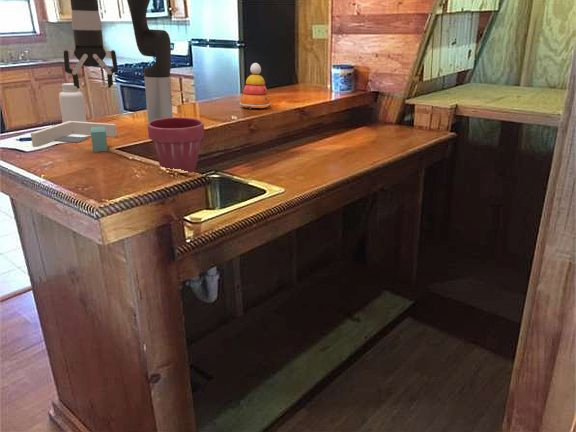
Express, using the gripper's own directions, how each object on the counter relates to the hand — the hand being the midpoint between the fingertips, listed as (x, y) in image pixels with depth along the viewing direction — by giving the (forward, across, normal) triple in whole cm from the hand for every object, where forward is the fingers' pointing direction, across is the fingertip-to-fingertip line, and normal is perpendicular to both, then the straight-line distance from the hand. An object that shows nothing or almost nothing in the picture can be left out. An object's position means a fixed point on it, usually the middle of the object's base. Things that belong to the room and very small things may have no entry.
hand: (93, 87), depth 146 cm
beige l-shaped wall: (+18, +7, -12) cm, 23 cm away
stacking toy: (+18, -66, -62) cm, 93 cm away
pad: (+18, +9, -14) cm, 25 cm away
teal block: (+18, 0, 0) cm, 18 cm away
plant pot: (+18, -20, +28) cm, 39 cm away
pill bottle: (+18, +9, -35) cm, 41 cm away
